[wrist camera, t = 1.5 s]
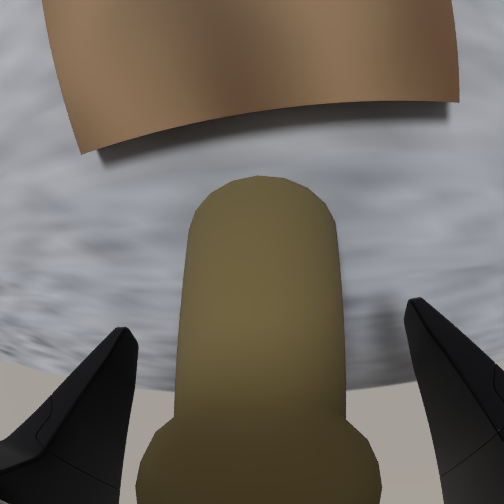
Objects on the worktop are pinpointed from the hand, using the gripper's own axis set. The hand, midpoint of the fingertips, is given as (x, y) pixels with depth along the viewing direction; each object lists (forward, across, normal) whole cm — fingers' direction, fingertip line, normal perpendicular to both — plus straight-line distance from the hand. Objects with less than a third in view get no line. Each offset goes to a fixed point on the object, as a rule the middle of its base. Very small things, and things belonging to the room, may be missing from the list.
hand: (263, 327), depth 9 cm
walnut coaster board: (+4, -1, -12) cm, 13 cm away
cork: (+4, 0, 0) cm, 4 cm away
